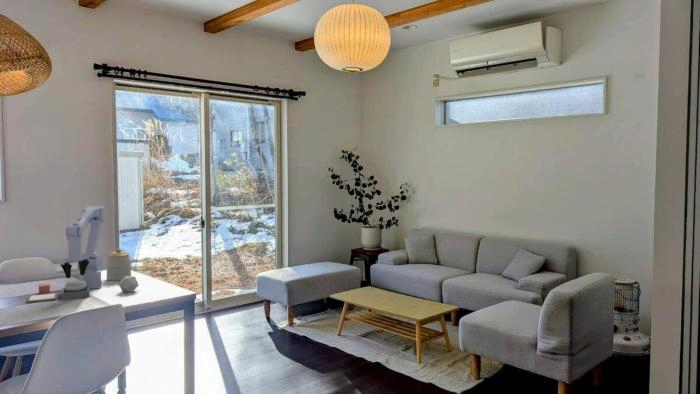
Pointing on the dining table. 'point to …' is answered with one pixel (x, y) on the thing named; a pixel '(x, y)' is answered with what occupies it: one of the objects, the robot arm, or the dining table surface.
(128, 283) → the die
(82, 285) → the dome
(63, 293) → the grey square tray
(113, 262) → the jar
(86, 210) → the robot arm
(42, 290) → the small die
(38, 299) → the board
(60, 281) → the dining table surface
